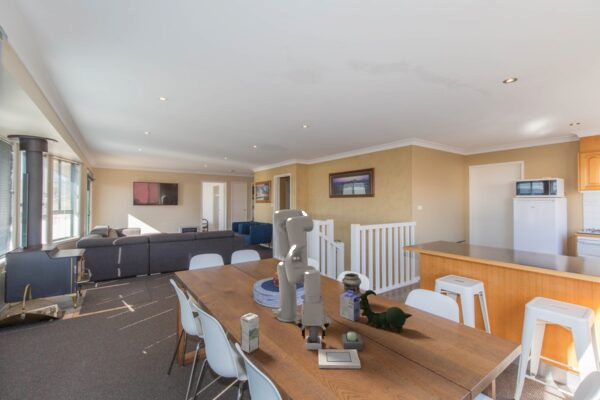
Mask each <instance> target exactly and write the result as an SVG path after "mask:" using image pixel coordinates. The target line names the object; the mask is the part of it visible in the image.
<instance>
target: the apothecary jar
mask: <svg viewBox="0 0 600 400" xmlns="http://www.w3.org/2000/svg"><path fill="white" fill-rule="evenodd" d="M341 281H342V284H343V291H342V293H341V294H343V293H348V290H351V291H354V293H353V295H356V296H359V300H361V298H360V296H361V294H362V292H361V289H360V288H361V287H360V285H361V284H362V279H361V278H360V277H359V275H358V274H357V273H355V272H354V273H353V272H349V273H345V274H344V277H343V278H342V279H341ZM349 293H351V294H352V292H349ZM359 303H360V301H359ZM360 304H361V303H360Z"/></svg>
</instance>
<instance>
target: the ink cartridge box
mask: <svg viewBox="0 0 600 400" xmlns="http://www.w3.org/2000/svg"><path fill="white" fill-rule="evenodd" d="M349 292H352V294H351V293H349ZM342 293H343V292H342ZM342 293H341V294H340V293H339V294H340V295H339V303H340V304H339V305H340V306H339V308H340V309H339V311H340V312H339V315H340V317H342V318H344V319H347V320H350V321H352V322H355V321H358V320H361V319H360V318H361V316H360V315H361V312H360V310H361V309H360V307H361V306H360V305H361V303H359V302H360V299H359V296H356V295H353V293H354V291H351V290H348V293H343V294H342Z"/></svg>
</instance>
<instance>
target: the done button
mask: <svg viewBox="0 0 600 400" xmlns="http://www.w3.org/2000/svg"><path fill="white" fill-rule="evenodd" d="M346 334H347V341H357V337H356V334H357V333H356V332H355V331H348V332H347V333H346Z"/></svg>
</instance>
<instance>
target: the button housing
mask: <svg viewBox="0 0 600 400" xmlns="http://www.w3.org/2000/svg"><path fill="white" fill-rule="evenodd" d="M356 337H357V341H347V333H342V334H341V341H342V342H341V343H342V347H343V349H345V350H357V351H364V345H363V340H362V337H361V335H360V333H359V334H358V333H356Z"/></svg>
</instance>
